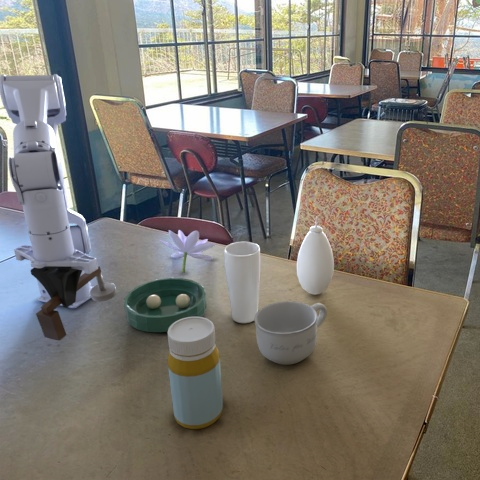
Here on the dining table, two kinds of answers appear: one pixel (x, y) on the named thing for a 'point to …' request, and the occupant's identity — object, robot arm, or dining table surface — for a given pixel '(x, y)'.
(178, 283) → the bowl
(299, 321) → the teacup
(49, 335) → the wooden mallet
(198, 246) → the water lily
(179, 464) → the dining table surface
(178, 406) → the bottle
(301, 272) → the sauce bottle
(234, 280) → the white tumbler
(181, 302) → the ball
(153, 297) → the ball
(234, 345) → the dining table surface
